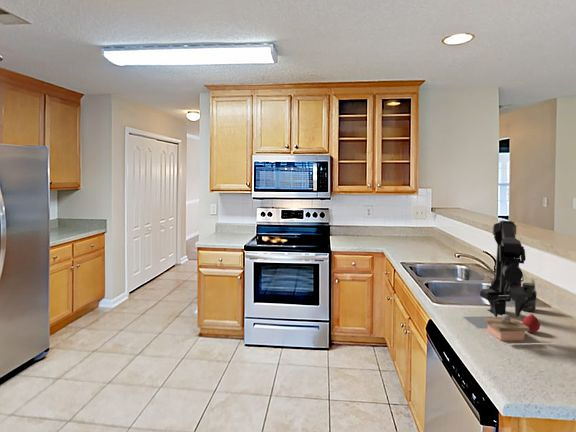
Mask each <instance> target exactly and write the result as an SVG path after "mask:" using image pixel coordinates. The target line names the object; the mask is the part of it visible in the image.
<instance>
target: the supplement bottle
mask: <svg viewBox="0 0 576 432" xmlns="http://www.w3.org/2000/svg"><path fill="white" fill-rule="evenodd" d="M521 287H531V288H532V291H534V292H535V293H536V295H538V294H537V290H536V288H535V287H536V284H535V283H532V282H522V286H521ZM536 308H537V296H536V300H531V302H528V303H526V304H525V305H524V307H523V309H522V311H523V312H527V313H533V312H536V311H537V309H536ZM522 311H521V312H522Z"/></svg>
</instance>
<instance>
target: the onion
mask: <svg viewBox="0 0 576 432" xmlns="http://www.w3.org/2000/svg"><path fill="white" fill-rule="evenodd" d="M521 323H522V324H524V325H526V326H527V327H529V331H527V332H528V334H534V333H537V332H538V331H539V329H540V327H541V323H540V321H539V319H538V318H537V316H535V315H534V313H533V312H529V315H527V316H525V317H524V318H523V320H522V322H521Z"/></svg>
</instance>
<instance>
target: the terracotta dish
mask: <svg viewBox="0 0 576 432" xmlns="http://www.w3.org/2000/svg"><path fill="white" fill-rule="evenodd" d="M486 332H488V333H489V334H490V335H492V336H493V337H495V338H496V339H498V340H499V341H501V342H503V341H504V342H507V341H508V342H509V341H511V342H513V341H524V340H525V334H526V333H525V332H526V331H499V330H497V329H496V328H494V327H493V326H491V325H490V324H488V328H486Z"/></svg>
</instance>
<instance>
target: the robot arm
mask: <svg viewBox="0 0 576 432" xmlns="http://www.w3.org/2000/svg"><path fill="white" fill-rule="evenodd" d="M492 235H493V239H494V241H495V243H496V246H497V247H496V248H497V249H496V257H495V258H496V259H495V274H494V277H493V278H492V279H491V280H490V285H488V288H482V289H481V290H480V291H479V294H480V295H479V296H480V297H482V298H483V299H484V300H486V301H488V303H489V305H490V307H489V308H490V309H489V308H488V309H487V311H488V312H489V313H491V314H492V315H494V316H493V317H498V315H500V316H501V315H509V313H507V312H506V309H507V306H506V305H507V302H509V303H510V302H511V301H514V311H515V316H516V317H519V316H520V314H521V313H522V309H523V307H524V305H525V304H526V303H528V302H531V300H536V301H537V298H536V296H537V295H538V294H537V295H536V293H535V292H534V291H532V288H531V287H522V286H521V280H522V279H523V277H524V274H523V271H522V269H521V268H520V264H525V261H526V249H525V247H524V245H522V242H521V241H520V240H519V239H517V238H516V235H517V225H516V224H515V222H514V221H512V220H501V221H499V222H498V223H494V224H493V225H492Z"/></svg>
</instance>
